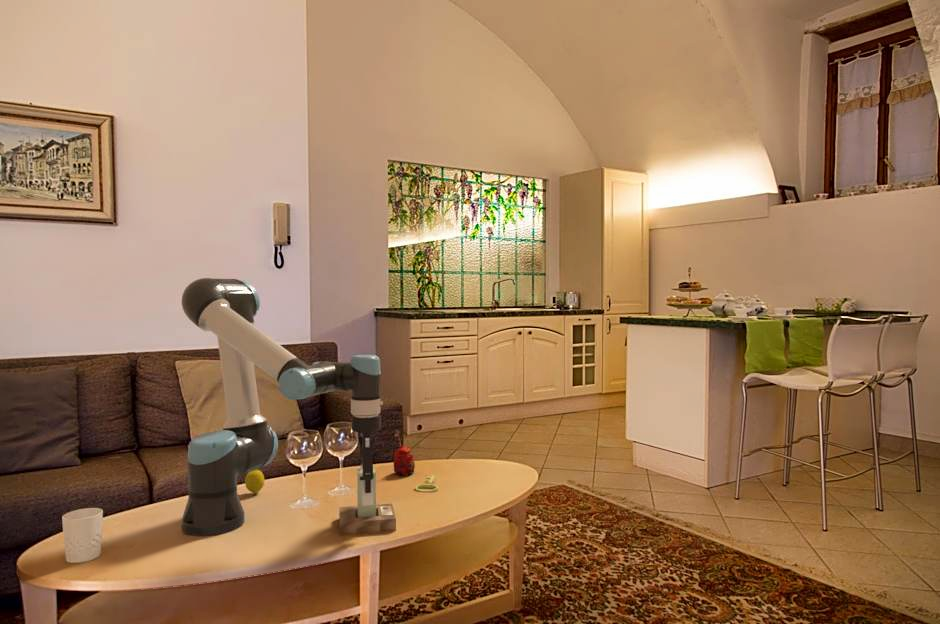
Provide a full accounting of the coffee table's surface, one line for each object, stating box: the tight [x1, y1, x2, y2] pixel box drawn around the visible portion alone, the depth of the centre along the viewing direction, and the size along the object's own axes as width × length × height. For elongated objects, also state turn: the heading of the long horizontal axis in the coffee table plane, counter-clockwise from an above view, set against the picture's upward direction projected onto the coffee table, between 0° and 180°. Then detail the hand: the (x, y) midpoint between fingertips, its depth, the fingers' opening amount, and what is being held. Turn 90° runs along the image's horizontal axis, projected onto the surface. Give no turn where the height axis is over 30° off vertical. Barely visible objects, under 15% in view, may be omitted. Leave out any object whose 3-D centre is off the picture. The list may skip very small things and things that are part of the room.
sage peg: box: [356, 467, 377, 517], centre depth 161 cm, size 4×4×14 cm
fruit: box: [244, 469, 266, 495], centre depth 187 cm, size 6×6×8 cm
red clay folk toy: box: [393, 429, 416, 477], centre depth 208 cm, size 8×7×15 cm
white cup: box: [61, 507, 104, 564], centre depth 141 cm, size 8×8×10 cm
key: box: [414, 474, 439, 493], centre depth 194 cm, size 7×12×2 cm, turn 9°
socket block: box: [338, 503, 397, 536], centre depth 161 cm, size 14×12×3 cm
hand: (366, 496), depth 161 cm, fingers open, 13 cm apart
